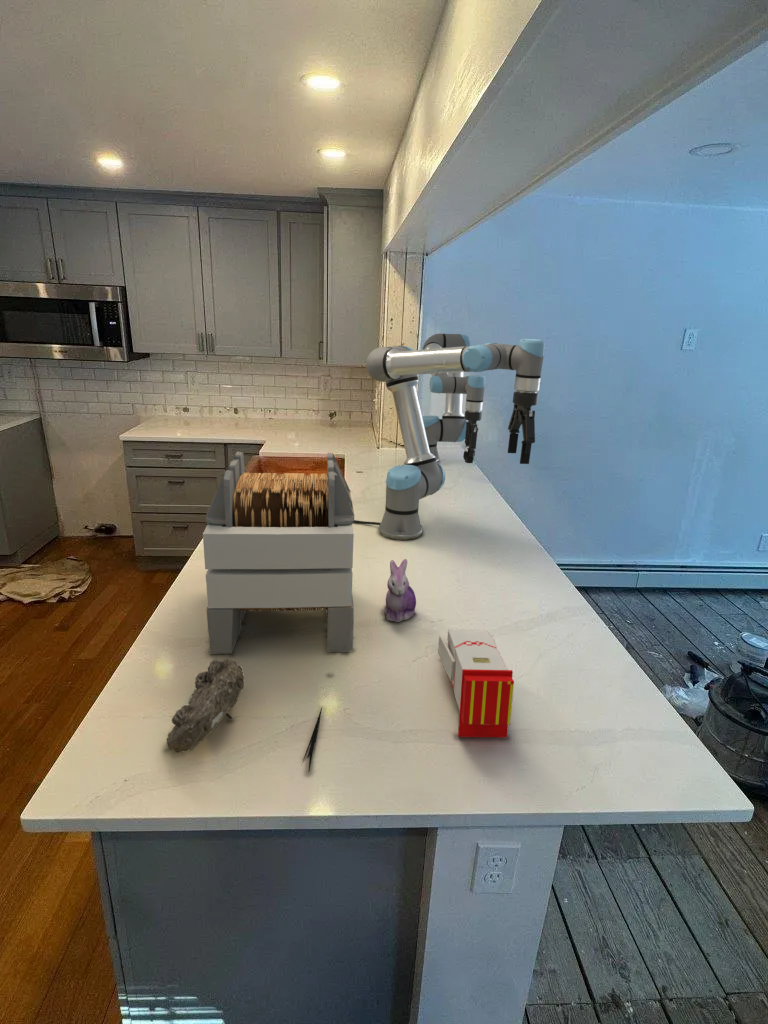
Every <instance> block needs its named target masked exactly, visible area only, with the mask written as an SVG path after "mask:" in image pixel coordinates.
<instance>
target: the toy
mask: <svg viewBox="0 0 768 1024" xmlns="http://www.w3.org/2000/svg"><path fill="white" fill-rule="evenodd" d="M446 640H447V643H446V641H445V639H444V636H443V635H442V634H439V637H438V646H437V656H438V657H439V659H440V661H441V663H442V666H443V668H444V670H445V672H446V674H447V677H448V679H449V681H450V684H451V687H452V690H453V693H454V697H455V701H456V705H457V708H458V711H459V714H458V715H459V716H458V730H457V731H458V732H457V737H458V738H508V731H509V726H510V725H511V717H512V707H513V697H514V696H513V695H514V684H515V680H514V679H513V673H514V671H513V670H512V669H508V667H507V665H506V662H505V661H504V659H503V658H502V655H501V653H500V651H499V649H498V647H497V643H496V639H495V637H494V635H493V634H491V632H490V631H489V629H467V628H466V629H465V628H463V629H461V628H460V629H459V628H448V630H447V639H446Z"/></svg>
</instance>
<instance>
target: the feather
mask: <svg viewBox="0 0 768 1024" xmlns="http://www.w3.org/2000/svg"><path fill="white" fill-rule="evenodd" d="M329 675H330V676H331V675H332V674H331V673H330V674H329ZM322 710H323V707H321V708H320V710H319V713H318V716H317V719H316V723H315V725H314V728H313V731H312V733H311V737H310V739H309V742H308V745H307V748H306V751H305V754H304V757H303V760H302V763H301V767H302V765H303V763H304V761H305V758H308V759H309V760H308V762H307V763H308V764H307V766H308V771H310V770H311V766H312V765H311V764H312V760H313V757H315V756H314V755H315V751H316V749H315V746H317V739H318V733H319V729H320V722H321V717H322V712H323V711H322ZM313 754H314V755H313ZM306 755H307V757H306Z"/></svg>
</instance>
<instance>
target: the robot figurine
mask: <svg viewBox="0 0 768 1024" xmlns="http://www.w3.org/2000/svg"><path fill="white" fill-rule="evenodd" d="M465 447H466V446H465ZM467 448H469V446H468V447H466V448H464V451H463V456H462V458H463V460H464V462H465V463H466V464H468V463H467V454H468V449H467ZM475 456H476V449H474V457H473V460H474V458H475Z"/></svg>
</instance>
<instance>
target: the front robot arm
mask: <svg viewBox="0 0 768 1024" xmlns="http://www.w3.org/2000/svg"><path fill="white" fill-rule="evenodd" d="M545 346H546V345H545V341H543V340H542V339H534V338H533V339H532V338H521V339H520V340H519V343H518V344H507V343H506V344H505V343H498V342H487V343H484V344H473V345H471V346H462V347H450V348H437V349H425V350H423V349H413V348H411V347H410V346H406V345H405V346H404V345H395V346H394V345H393V346H392V345H391V346H379V347H376V348H375V349H373V350H371V352H370V353H369V354H368V356H367V359H366V363H365V364H366V365H365V367H366V371H367V373H368V375H369V376H370V378H372V379H373V380H374V381H376V382H381V383H385V386H386V389H387V390H388V391H390V392H391V394H392V399H393V402H394V403H393V404H394V407H395V411H396V415H397V420H398V424H399V428H400V434H401V437H402V443H403V445H404V446H403V447H404V451H405V455H406V459H405V461H404V463H403V464H401V465H400V464H398V465H394V466H392V467H391V468H389V470H388V471H387V473H386V479H385V504H384V505H385V507H384V508H385V509H384V513H383V515H382V519H381V522H378V521H377V522H376V521H365V520H357V519H354V522H353V523H352V524H361V525H372V526H378V533H379V534H380V535H381V536H382V537H385V538H387V539H389V540H395V541H410V540H415V539H418V538H420V537H421V536H422V535H423V525H422V524H421V518H420V515H419V507H420V506H419V505H420V504H419V503H420V500H422V499H423V498H426V497H428V496H432V495H434V494H436V493H437V492H439V491H440V490H441V489H442V488H443V486H444V485H445V481H446V472H445V469H444V467H443V466H442V465H441V464H440V462H436V457H435V455H433V454H431V453H430V450H429V445H428V441H427V436H426V432H425V427H424V423H423V418H422V417H423V414H422V410H421V405H420V401H419V397H418V391H417V385H418V383H419V381H420V380H419V377H418V375H431V374H436V373H454V372H463V373H471V372H473V373H481V372H485V371H493V370H508V371H509V370H510V371H515V377H514V385H513V390H514V392H513V396H512V404H513V409H512V413H511V417H510V419H509V424H508V427H507V430H508V432H509V437H508V445H507V454H517V450H518V449H517V448H518V441H519V434H520V429H521V430H522V431H521V432H522V439H523V440H522V441H521V443H520V444H521V450H520V458H519V464H520V465H530V461H531V460H530V459H531V452H532V445H533V444H535V442H536V430H535V429H536V426H535V425H536V424H535V416H536V410H532V406H537V405H538V401H539V393H538V392H539V391H540V385H541V384H542V380H541V379H542V378H541V377H542V371H543V363H544V358H545Z"/></svg>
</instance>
